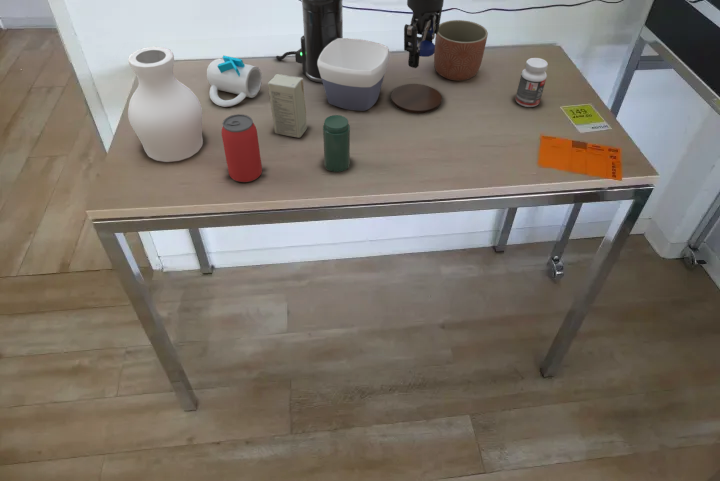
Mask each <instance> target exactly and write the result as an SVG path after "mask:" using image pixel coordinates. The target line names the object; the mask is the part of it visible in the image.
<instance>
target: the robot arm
mask: <svg viewBox="0 0 720 481" xmlns="http://www.w3.org/2000/svg"><path fill="white" fill-rule="evenodd" d="M301 4H302V5H301V8H302V23H303V24H302V25H303V35H302V36H301V37H300V48H299V49H298V50H294V51H293V50H292V51H291V50H290V51H287V52H285V53H283V54H282V55H276V56H275V58H276V60H280V61H282V60H284V59H285V58H286V57H288V56H293V55H294V57H295V62H296V63H298V64H301V69H302V75H304V76H305V77H306V78H307V79H309V80H310V81H312V82H315V83H319V84H320V83H322V84H323V82H322V78H321V76H320V72H319V69H318V65H317V61H318V58H319V56H320V54H321V52H322V51H323V49H324V48H325V47H326V46H327V45H328V44H329V43H331V42H332V41H334V40H336V39H338V38H344V36H343V32H344V31H343V28H344V27H343V26H344V25H343V21H344V20H343V0H301ZM406 5H407V7H408V8H409V9H410V10H411V11H412V17H411V20H410V24H406V23H405V25H403V26H404V27H403V50H404V51H405V52H408V63H407V65H408V67H410V68H412V69H417V68H418V67H419V66H420V64H419V63H420V57H421V56H420V48H421V44H422V42H424V41H425V40H427V41H430V42H432V43H433V40H435V37H436V34H437V33H438V30H439V25H440V24H441V17H442V12H443V7H444V0H406ZM418 35H419V36H418ZM417 41H418V44H417ZM429 57H430V56H428V58H429Z"/></svg>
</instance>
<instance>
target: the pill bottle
mask: <svg viewBox="0 0 720 481" xmlns="http://www.w3.org/2000/svg"><path fill="white" fill-rule="evenodd" d="M547 70H548V62H547V60H545V59H543V58H540V57H531V58H528V59H527V60H526V63H525V68H524V69H522V71H521V72H520V73H521V74H520V78H519V81H518V86H517V89H516V90H517V91H516V94H515V101H516V103H517V104H518V105H520V106H522V107H525V108H534V107H537V106H538V105H539V104H540V102H541V100H542V95H543V93H544V92H543V91H544V89H545V84H546V81H547V77H548V74H547V72H546V71H547Z"/></svg>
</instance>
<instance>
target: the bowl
mask: <svg viewBox="0 0 720 481" xmlns="http://www.w3.org/2000/svg"><path fill="white" fill-rule="evenodd" d="M390 58H391V51H390V48H389V47H388V46H387V45H384V44H381V43H379V42H375V41H371V40H365V39H361V38H360V39H359V38H350V37H349V38H348V37H343V38H338V39H336V40H334V41H332V42H331V43H329V44H328V45H327V46H326V47H325V48H324V49H323V51H322V52H321V54H320V56H319V58H318V61H317V65H318V69H319V72H320V76H321V78H322V82H323V83H322V85H323V88H324V92H325V95H326V99H327V102H328V104H330V105H332V106H334V107H337V108H340V109H343V110H349V111H359V112H363V111H367V110H370V109H371V108H372V107H373V106H374V105H375V104H376V103H377V101H378V99H379V96H380V92H381V89H382V85H383V83H384V82H383V81H384V79H385V75H386V72H387V68H388V65H389V61H390Z"/></svg>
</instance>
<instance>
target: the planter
mask: <svg viewBox="0 0 720 481" xmlns="http://www.w3.org/2000/svg"><path fill="white" fill-rule="evenodd" d="M488 36H489V32H488V30H487V29H486V27H484V26H483V25H482V24H479V23H477V22H474V21H470V20H464V19H463V20H462V19H452V20H447V21H444V22H440V24H439V30H438V33H437V34H435V38H434V45H435V52H434V54H433V64H434V69H435V71H436V72H437V74H438V75H439V76H441V77H443V78H445V79H447V80H450V81H465V80H469V79H471V78H473V77H474V76H477V74H478V73H479V71H480V69H481V66H482V62H483V58H484V53H485V50H486V44H487V41H488V40H487V39H488Z"/></svg>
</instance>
